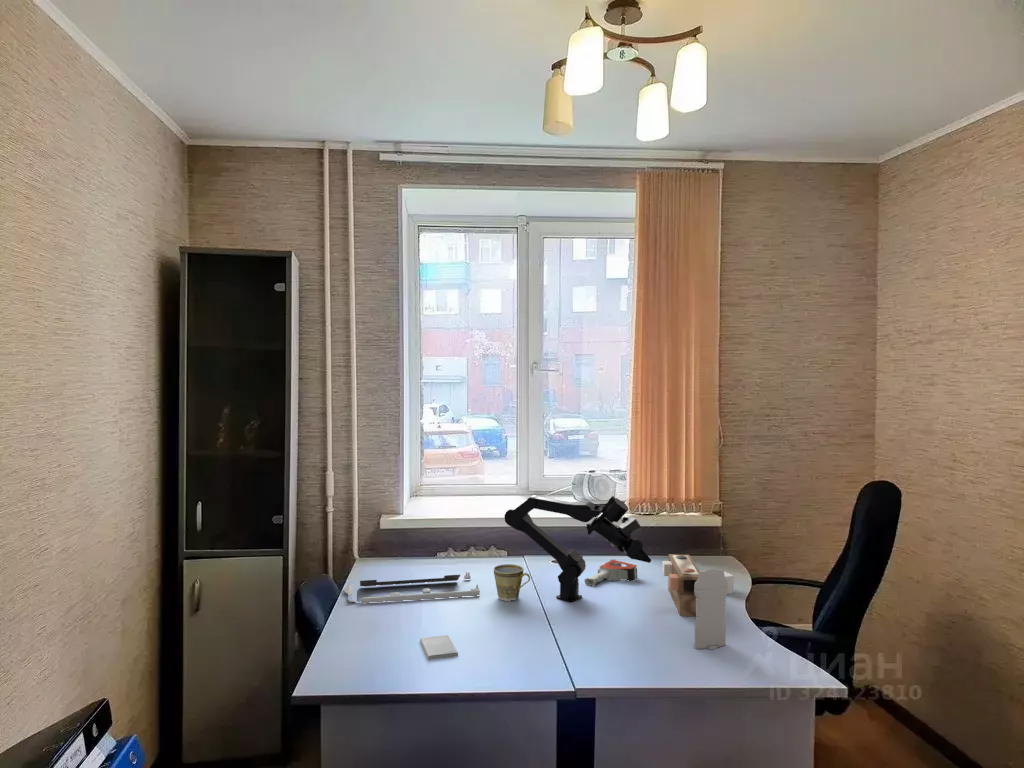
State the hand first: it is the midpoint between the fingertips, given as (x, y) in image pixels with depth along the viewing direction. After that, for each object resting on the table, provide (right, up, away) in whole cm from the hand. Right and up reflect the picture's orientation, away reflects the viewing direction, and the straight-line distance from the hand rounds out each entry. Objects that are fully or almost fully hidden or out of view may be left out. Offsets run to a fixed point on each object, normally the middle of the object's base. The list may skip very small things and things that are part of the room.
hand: (645, 558), depth 227 cm
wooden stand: (+13, -14, -1) cm, 19 cm away
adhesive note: (+28, -14, +11) cm, 33 cm away
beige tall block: (+11, -16, -35) cm, 40 cm away
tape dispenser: (-8, -14, +24) cm, 29 cm away
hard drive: (-64, -16, -37) cm, 76 cm away
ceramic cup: (-44, -14, +2) cm, 46 cm away
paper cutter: (-79, -14, +8) cm, 80 cm away
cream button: (+9, -7, +6) cm, 13 cm away
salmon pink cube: (+8, -8, -8) cm, 13 cm away
